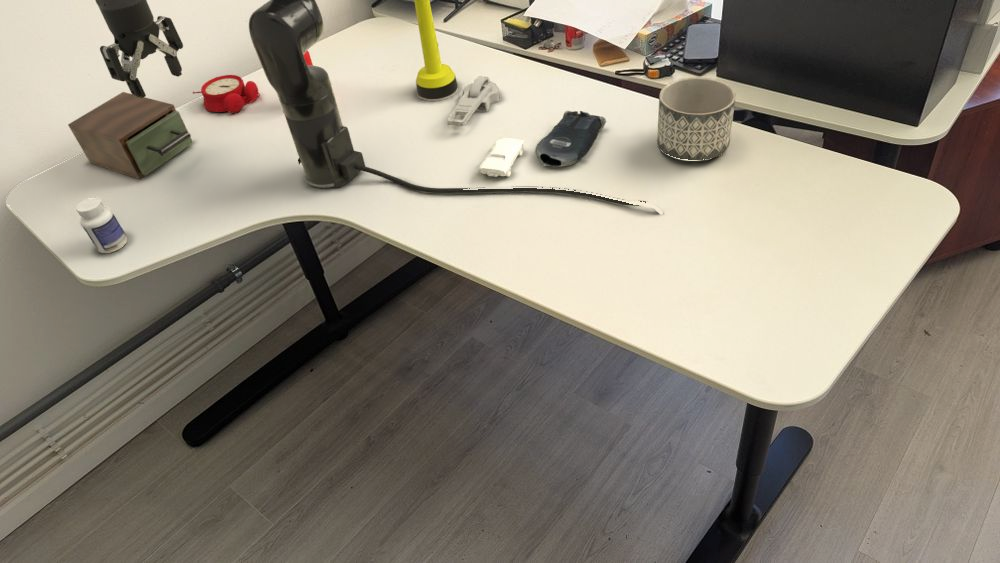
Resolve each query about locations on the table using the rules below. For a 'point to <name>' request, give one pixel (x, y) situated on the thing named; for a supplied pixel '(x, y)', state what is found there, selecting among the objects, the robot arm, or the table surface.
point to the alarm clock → (228, 93)
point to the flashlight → (432, 60)
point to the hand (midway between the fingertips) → (159, 85)
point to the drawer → (158, 142)
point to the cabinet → (116, 130)
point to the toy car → (502, 157)
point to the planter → (695, 118)
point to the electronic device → (569, 139)
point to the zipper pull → (474, 100)
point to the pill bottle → (101, 225)
